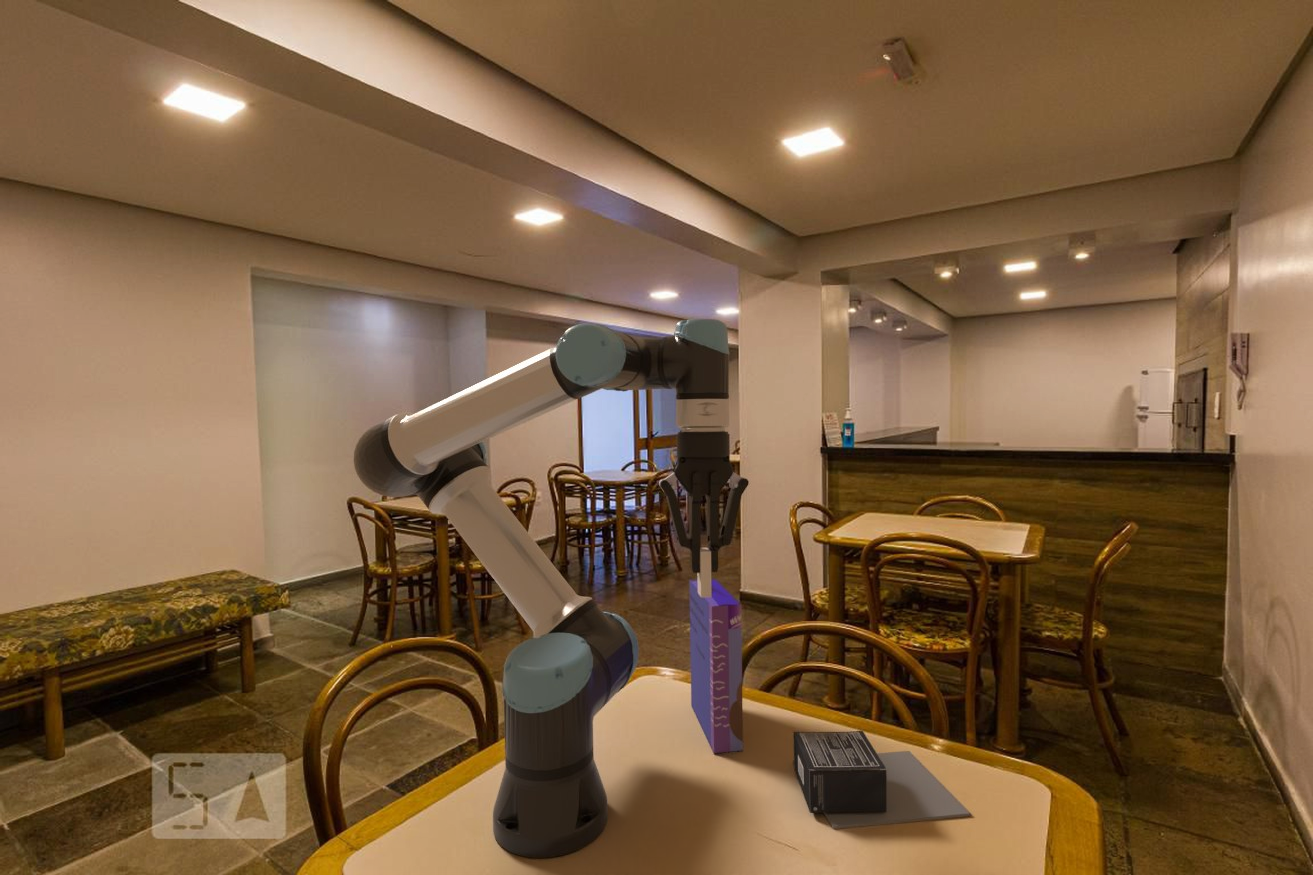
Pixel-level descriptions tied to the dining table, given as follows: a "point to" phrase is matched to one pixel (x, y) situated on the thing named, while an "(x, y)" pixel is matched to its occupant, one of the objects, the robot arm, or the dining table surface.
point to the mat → (905, 796)
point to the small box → (839, 772)
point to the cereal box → (717, 666)
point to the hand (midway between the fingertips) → (704, 594)
